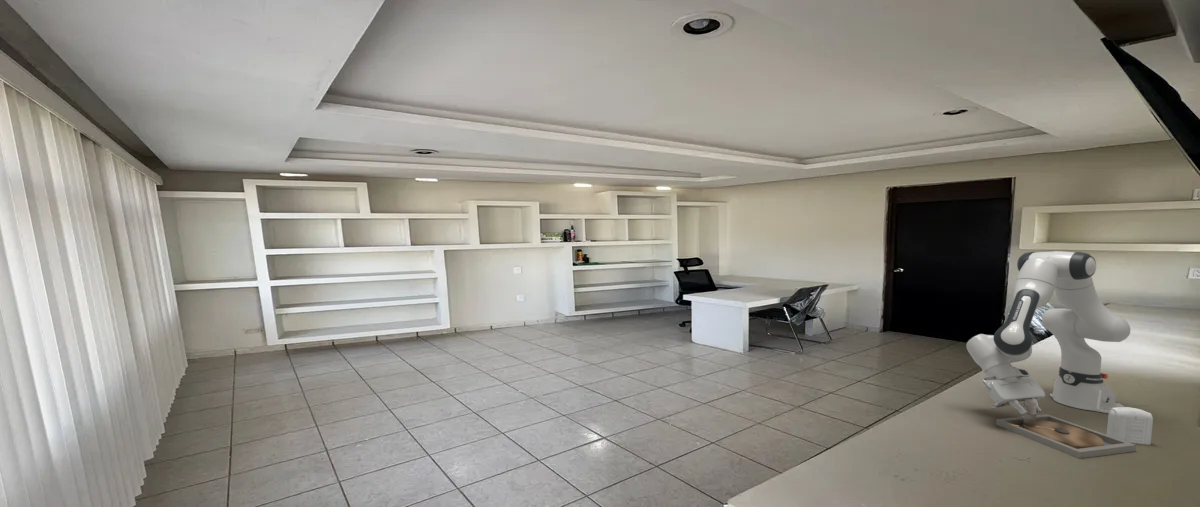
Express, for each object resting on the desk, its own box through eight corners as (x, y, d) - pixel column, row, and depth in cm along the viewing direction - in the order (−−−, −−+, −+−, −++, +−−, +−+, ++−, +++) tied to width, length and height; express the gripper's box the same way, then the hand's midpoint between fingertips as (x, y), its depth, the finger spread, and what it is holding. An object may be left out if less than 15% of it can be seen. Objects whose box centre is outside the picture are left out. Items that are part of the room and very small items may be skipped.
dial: (1097, 435, 152) (1099, 405, 151) (1109, 456, 138) (1111, 423, 137) (1021, 419, 164) (1023, 391, 164) (1025, 437, 150) (1027, 407, 149)
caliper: (1014, 399, 188) (1014, 385, 187) (1017, 400, 187) (1018, 386, 186) (991, 408, 178) (992, 393, 178) (994, 409, 177) (995, 394, 177)
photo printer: (1142, 442, 150) (1145, 407, 149) (1153, 448, 146) (1156, 412, 145) (1103, 438, 153) (1105, 403, 152) (1113, 444, 149) (1116, 408, 148)
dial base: (1046, 422, 165) (1046, 413, 165) (1135, 454, 142) (1136, 444, 142) (995, 427, 160) (995, 418, 160) (1078, 462, 137) (1079, 451, 137)
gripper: (987, 374, 159) (1016, 411, 150) (1031, 370, 163) (1061, 407, 154) (973, 381, 164) (1000, 418, 155) (1017, 378, 168) (1045, 414, 159)
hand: (1031, 412), depth 155 cm, fingers open, 5 cm apart
